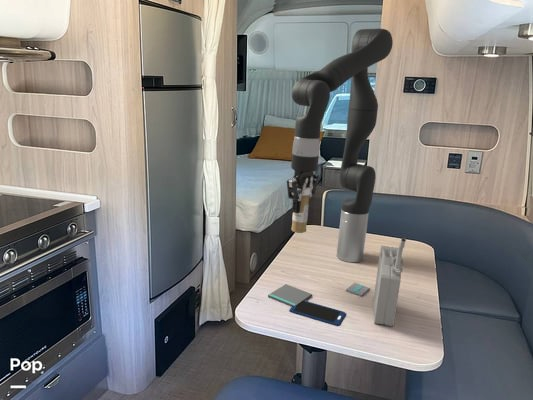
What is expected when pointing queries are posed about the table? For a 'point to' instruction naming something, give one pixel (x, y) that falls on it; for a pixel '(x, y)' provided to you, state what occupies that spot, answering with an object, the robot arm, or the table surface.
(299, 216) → the sprinkles bottle
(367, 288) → the label tag
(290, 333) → the table surface
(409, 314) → the table surface
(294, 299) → the mat
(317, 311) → the cell phone
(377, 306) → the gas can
